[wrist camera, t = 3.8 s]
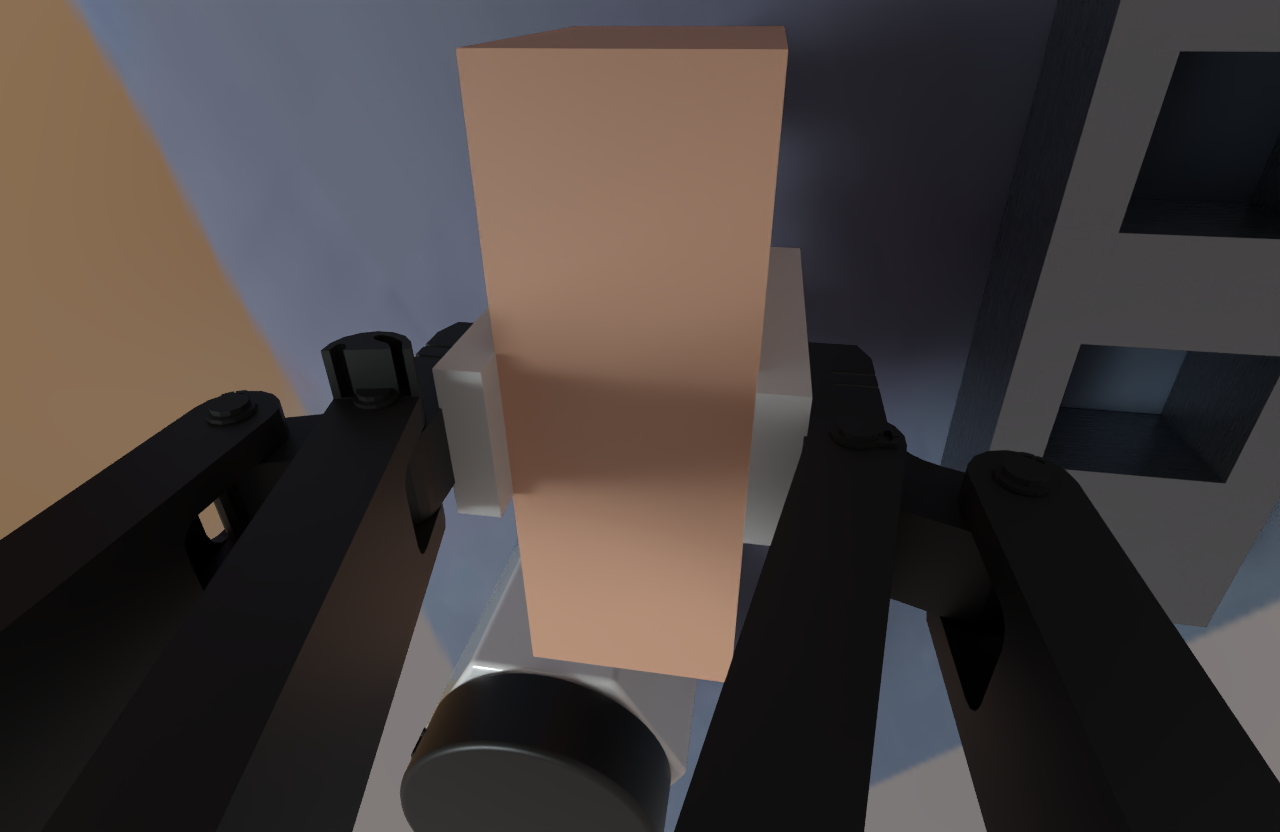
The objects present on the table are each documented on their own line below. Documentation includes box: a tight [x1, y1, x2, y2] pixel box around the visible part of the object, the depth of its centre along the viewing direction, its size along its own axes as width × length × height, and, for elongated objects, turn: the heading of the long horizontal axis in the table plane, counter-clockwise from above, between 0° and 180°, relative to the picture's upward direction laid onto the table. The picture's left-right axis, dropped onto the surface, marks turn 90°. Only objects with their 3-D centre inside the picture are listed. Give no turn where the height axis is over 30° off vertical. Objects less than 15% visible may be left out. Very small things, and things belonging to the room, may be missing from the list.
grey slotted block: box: [940, 0, 1280, 627], centre depth 19 cm, size 22×8×4 cm, turn 0°
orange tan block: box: [456, 26, 788, 682], centre depth 15 cm, size 11×4×10 cm, turn 0°
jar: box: [400, 544, 697, 832], centre depth 26 cm, size 9×8×12 cm
